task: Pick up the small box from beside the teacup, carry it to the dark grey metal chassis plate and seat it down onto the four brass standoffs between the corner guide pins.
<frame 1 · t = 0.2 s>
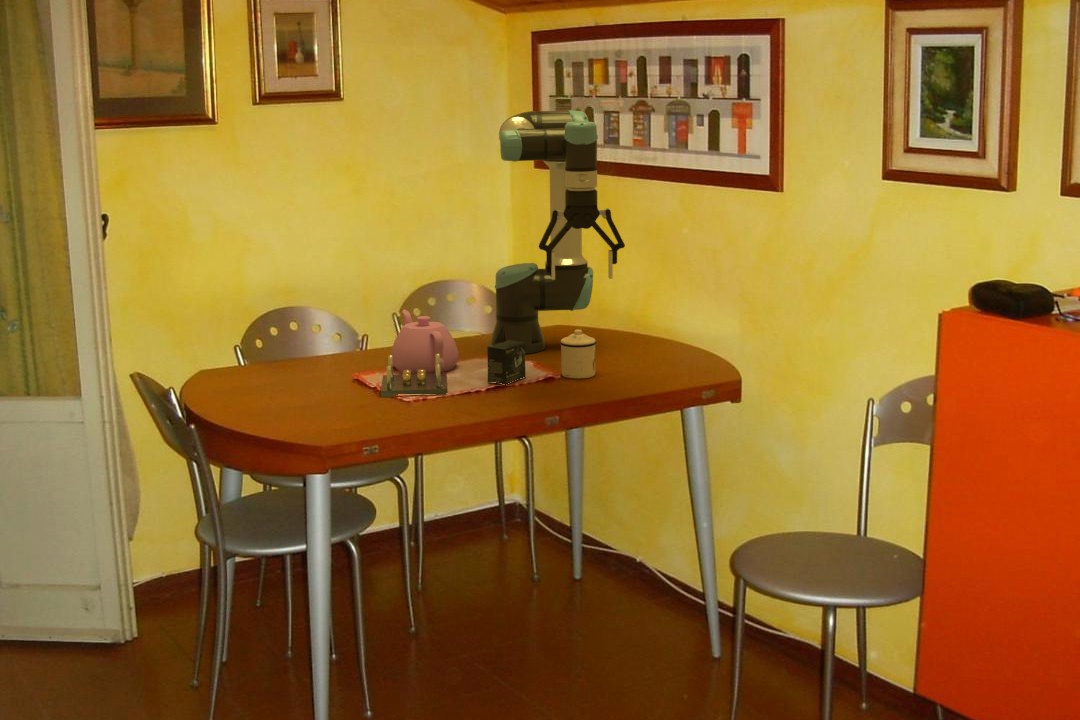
hand: (581, 278, 315), 28 cm above the table, fingers open, 13 cm apart
teapot: (423, 367, 348), on the table
box: (507, 381, 332), on the table
chassis: (414, 387, 327), on the table
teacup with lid: (576, 374, 339), on the table
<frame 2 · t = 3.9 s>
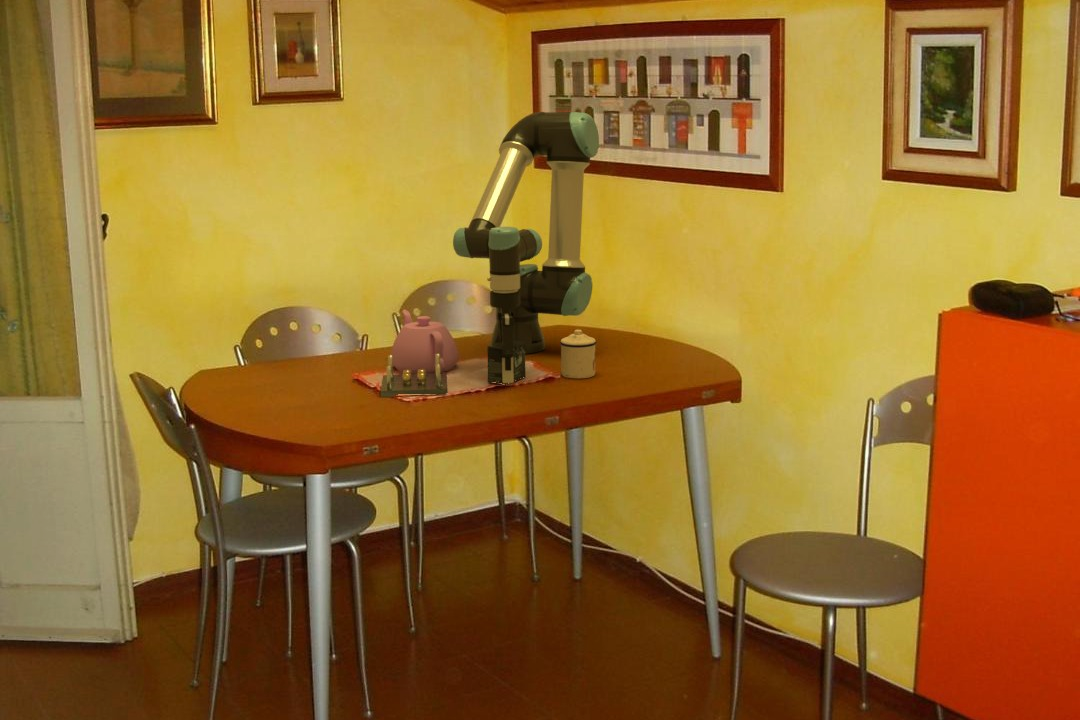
hand: (506, 377, 332), 1 cm above the table, fingers closed on box, 10 cm apart
box: (506, 381, 332), on the table, touching gripper
everything else where it was.
when the fingers open (7 cm above the table, at t = 9.3 s): box drops 2 cm, resting on chassis.
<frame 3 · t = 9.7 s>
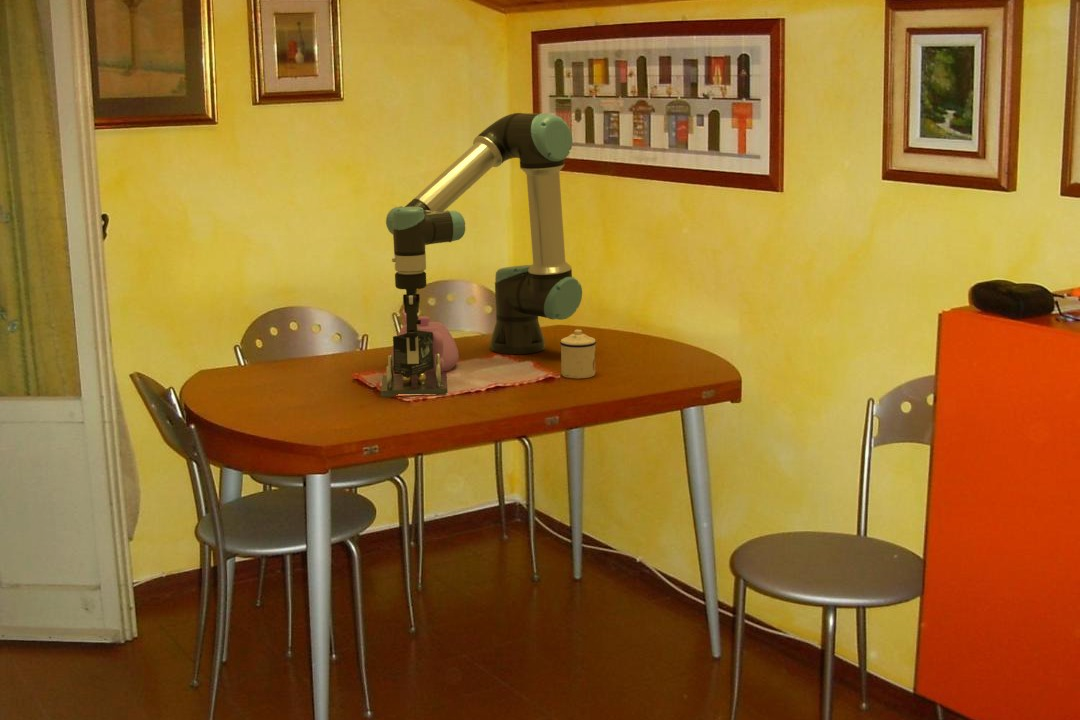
hand: (413, 357, 325), 8 cm above the table, fingers open, 13 cm apart
box: (414, 372, 326), point 4 cm above the table, touching chassis
everything else where it was.
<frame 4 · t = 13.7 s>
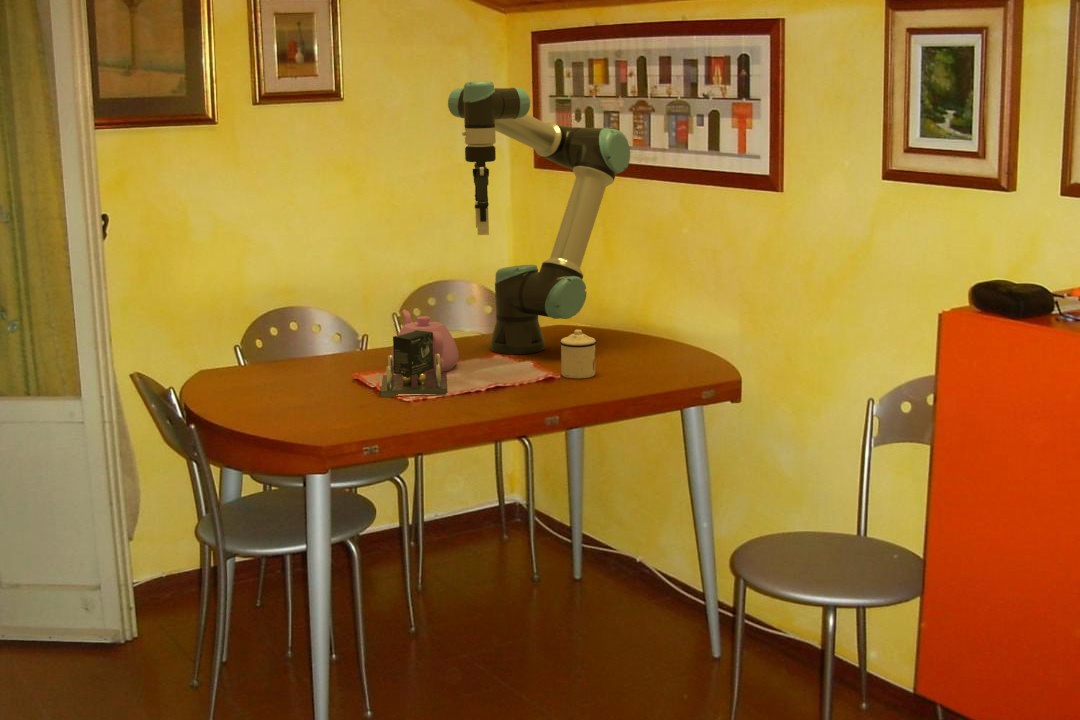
hand: (482, 231, 331), 37 cm above the table, fingers open, 13 cm apart
nothing on the table moved.
at the end: box 0.3 cm off-centre on the chassis, point 3.8 cm above the chassis's base; box tilted 0°; the gripper is holding nothing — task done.
